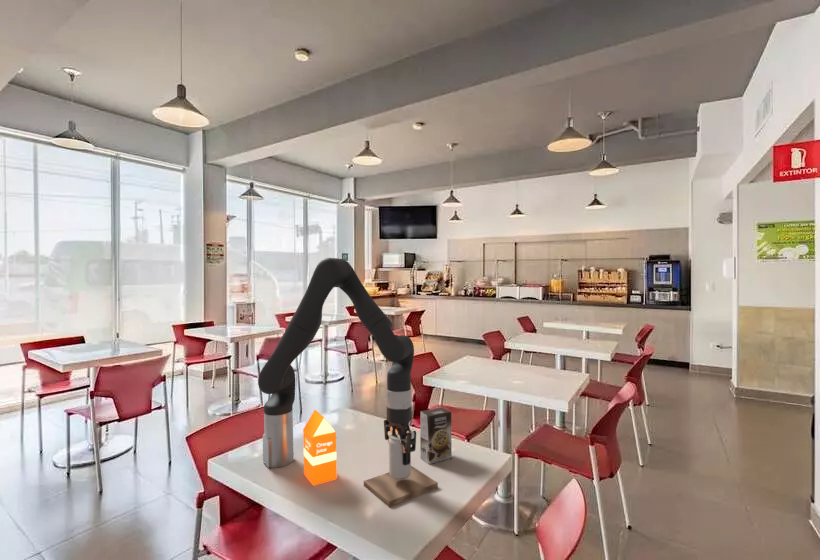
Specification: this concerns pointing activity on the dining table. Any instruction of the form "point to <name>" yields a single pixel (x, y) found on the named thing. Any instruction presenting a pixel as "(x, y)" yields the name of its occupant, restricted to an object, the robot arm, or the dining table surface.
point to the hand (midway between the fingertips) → (399, 459)
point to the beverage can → (397, 459)
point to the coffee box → (435, 435)
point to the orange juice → (319, 450)
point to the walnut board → (400, 487)
